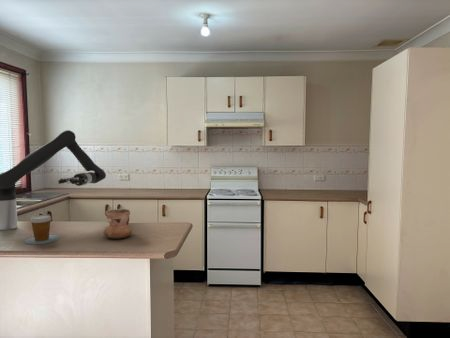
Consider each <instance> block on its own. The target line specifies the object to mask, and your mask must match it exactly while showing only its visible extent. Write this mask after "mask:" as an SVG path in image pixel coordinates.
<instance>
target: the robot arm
mask: <svg viewBox="0 0 450 338" xmlns="http://www.w3.org/2000/svg"><path fill="white" fill-rule="evenodd" d="M64 148H67V149H68V150H69V151H70V153H72V155H73V156H74V157H75V159H76V160H77V161H78V162H79V164H80V165H81V167H83V169H84V170H85V172H80V173H76V174H74V175H73V176H71V177H64V178H59V180H58V181H57V182H58V184H60V185H61V184H72V185H76V186H77V187H81V186H85V185H88V184H97V183H99V182H101V181H103V180H104V179H106V176H107V175H106V172H105V171H104V169H102V168H101V167H99V166H98V165H97V164H96V163H95V162H94V160H92V158H91V157H90V156H89V155H88V154H87V153H86V152H85V150H83V149H82V148H81V146H80V145H79V144H78V142H77V140H76V134H75V132H74V131H72V130H69V129H67V130H66V129H65V130H62V131H61V132H59V134H58V135H57V136H56V137H54V138H53V139H51V141H49V142H48V143H46V144H44V145H42V146H39V147H37V149H34V150H32V151H31V152H30V153H28V154H27V155H26V156H25V157H24V158H23V159H21V161H19V162H18V163H17V164H16V165H15V166H13V167H12V168H10V169H8V170H6V171H4V172H1V173H0V230H1V231H6V230H7V231H8V230H13V229H16V228H18V227H19V225H18V209H17V192H16V183H17V182H19V181H20V180H22V178H23V177H25V176H26V175H28V174H29V173H31V172H33V171H35V170H36V169H38V168H39V167H41V166H42V165H45V164H46V163H47V162H48V161H49V160H50V159H51V158H52V157H54V156H56V154H58V153H59V152H60V151H62V150H64Z"/></svg>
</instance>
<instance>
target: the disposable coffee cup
mask: <svg viewBox="0 0 450 338" xmlns="http://www.w3.org/2000/svg"><path fill="white" fill-rule="evenodd" d="M51 221H52V217H51V215H48V214H40V215H34V216H31V218H30V222H31V227H32V233H33V237H34V238H35V241H45V240H48V239H49V235H50V228H51Z"/></svg>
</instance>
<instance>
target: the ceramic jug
mask: <svg viewBox="0 0 450 338" xmlns="http://www.w3.org/2000/svg"><path fill="white" fill-rule="evenodd" d="M130 214H131V210H130V209H128V208H127V209H126V208H114V209H108V210H106V211H105V216H106V219H107V220H106V223H109V225H108V226H107V227H105V229H104V230H103V234H104V236H105V237H106V238H108V239H112V240H120V239H126V238H128V237H129V236H130V235H132V234H133V228H132V227H131V226H129V223H130Z"/></svg>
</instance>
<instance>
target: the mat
mask: <svg viewBox="0 0 450 338" xmlns="http://www.w3.org/2000/svg"><path fill="white" fill-rule="evenodd" d="M60 239H61V237H60V236H59V235H57V234H56V235H54V234H49V239H48V240H45V241H35V238H34V236H33V237H30V238H28V239H26V240H24V244H25V245H31V246H32V245H33V246H34V245H35V246H36V244H38V245H44V244H50V243H53V242H57V241H59V240H60Z"/></svg>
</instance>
